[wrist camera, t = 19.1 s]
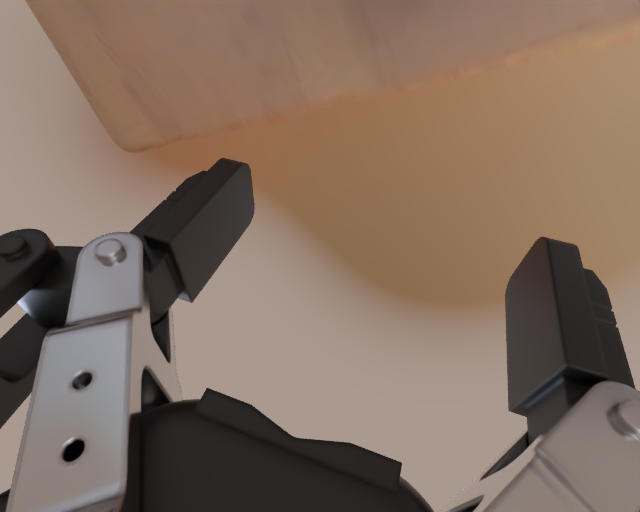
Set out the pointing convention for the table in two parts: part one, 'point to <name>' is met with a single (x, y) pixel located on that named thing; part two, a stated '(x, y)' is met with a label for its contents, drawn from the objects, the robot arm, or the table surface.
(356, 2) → the table surface
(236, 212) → the robot arm
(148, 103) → the table surface
